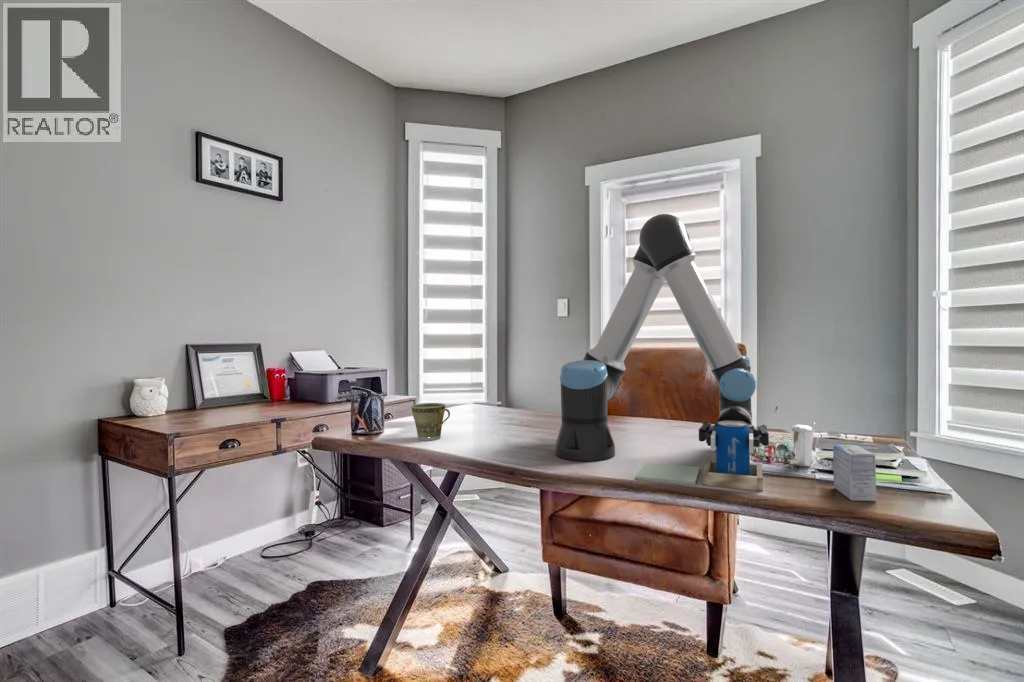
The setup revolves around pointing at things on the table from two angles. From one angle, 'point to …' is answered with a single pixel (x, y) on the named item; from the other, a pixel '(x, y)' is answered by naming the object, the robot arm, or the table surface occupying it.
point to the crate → (733, 477)
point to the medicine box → (855, 472)
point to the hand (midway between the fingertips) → (731, 445)
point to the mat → (669, 473)
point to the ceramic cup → (429, 420)
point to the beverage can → (732, 448)
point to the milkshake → (803, 443)
